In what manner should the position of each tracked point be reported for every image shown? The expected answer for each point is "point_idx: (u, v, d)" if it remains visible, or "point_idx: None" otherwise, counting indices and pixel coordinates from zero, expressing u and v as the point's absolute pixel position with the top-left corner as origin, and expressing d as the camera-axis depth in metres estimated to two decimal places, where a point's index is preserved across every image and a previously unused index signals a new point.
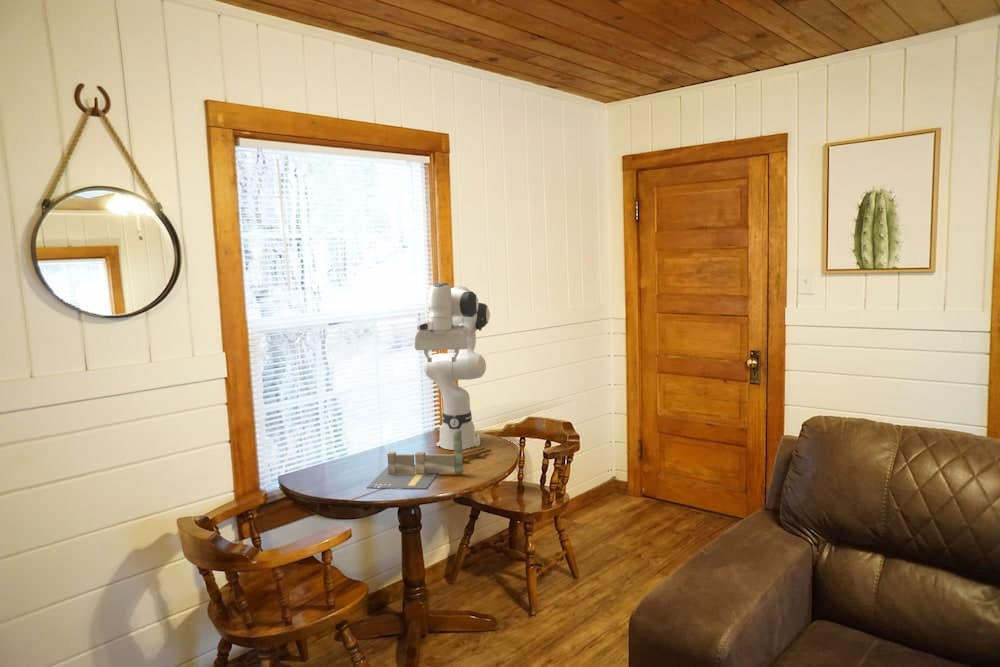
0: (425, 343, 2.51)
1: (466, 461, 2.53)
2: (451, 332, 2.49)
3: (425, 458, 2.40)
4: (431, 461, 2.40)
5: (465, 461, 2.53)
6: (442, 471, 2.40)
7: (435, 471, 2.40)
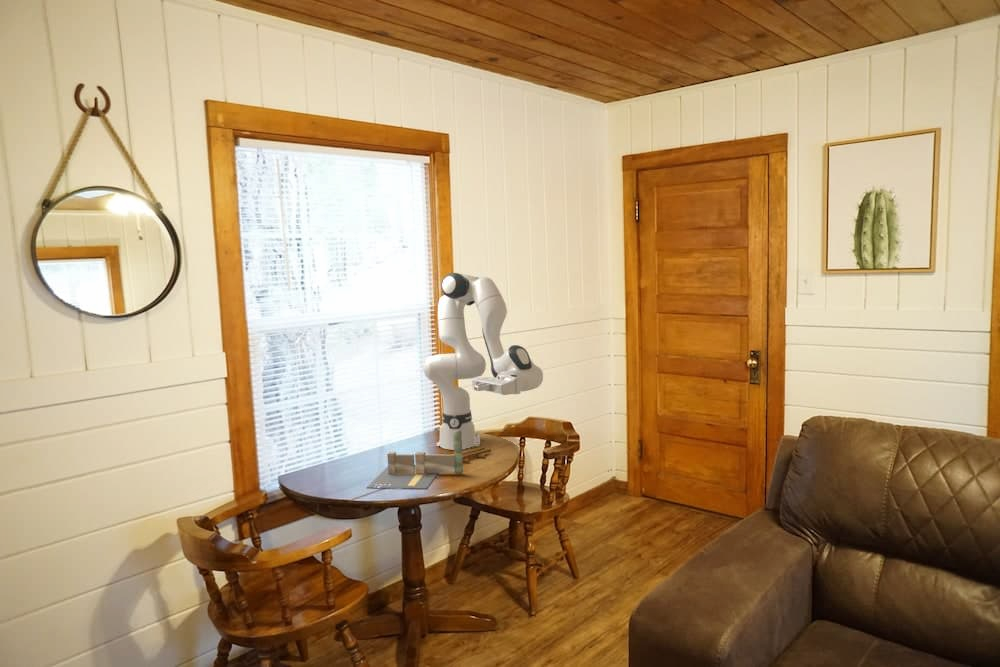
0: None
1: (466, 461, 2.53)
2: None
3: (425, 458, 2.40)
4: (431, 461, 2.40)
5: (465, 461, 2.53)
6: (442, 471, 2.40)
7: (435, 471, 2.40)
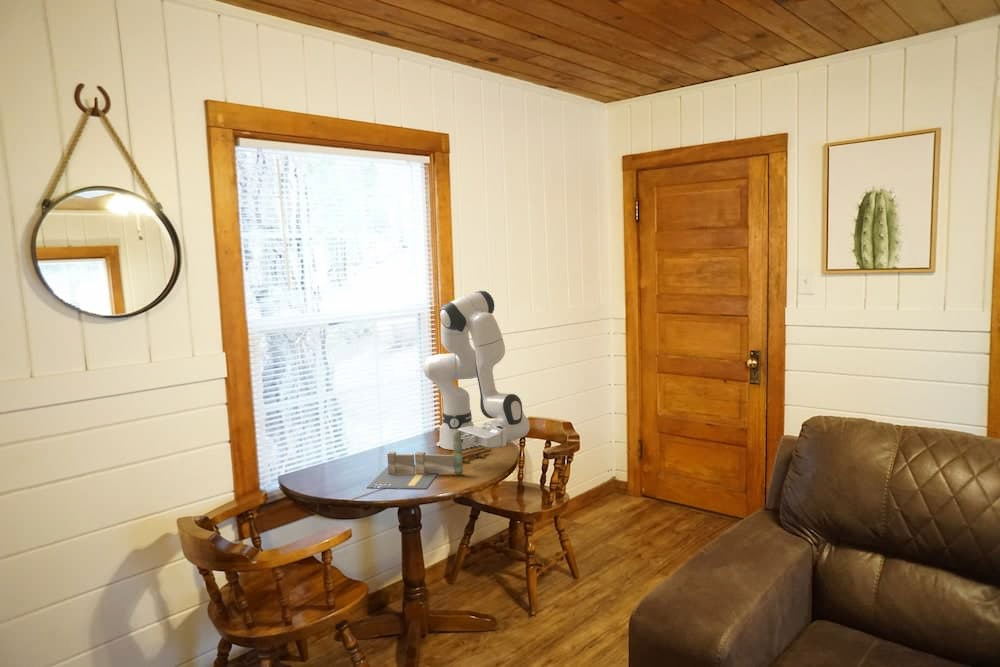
0: None
1: (466, 461, 2.53)
2: None
3: (425, 458, 2.40)
4: (430, 461, 2.40)
5: (465, 461, 2.53)
6: (442, 471, 2.40)
7: (434, 471, 2.40)
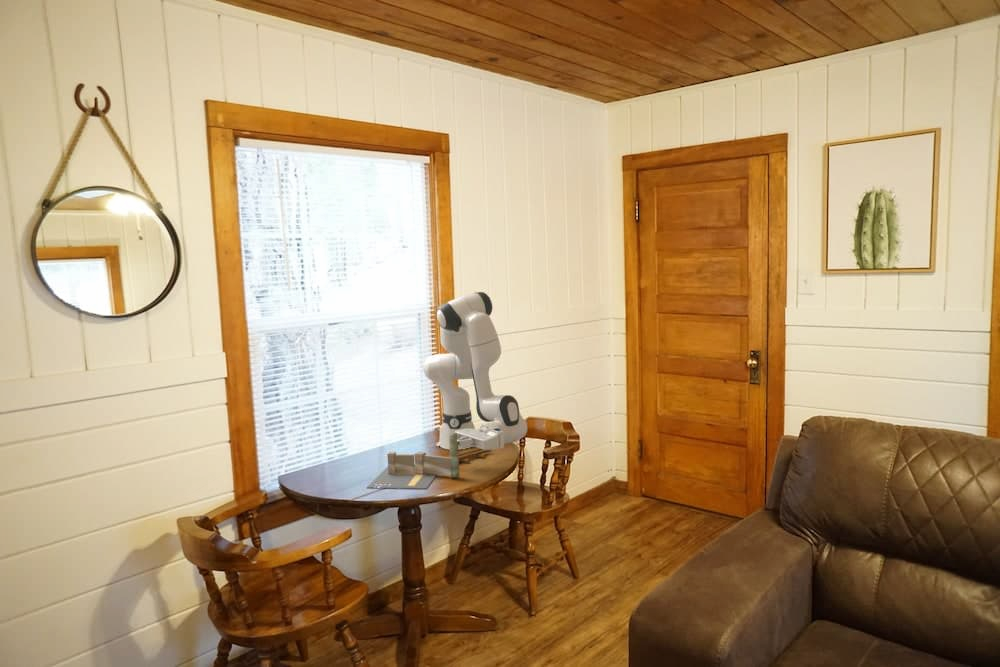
0: None
1: (466, 461, 2.53)
2: None
3: (424, 458, 2.40)
4: (429, 462, 2.39)
5: (465, 461, 2.53)
6: (439, 473, 2.38)
7: (433, 472, 2.39)
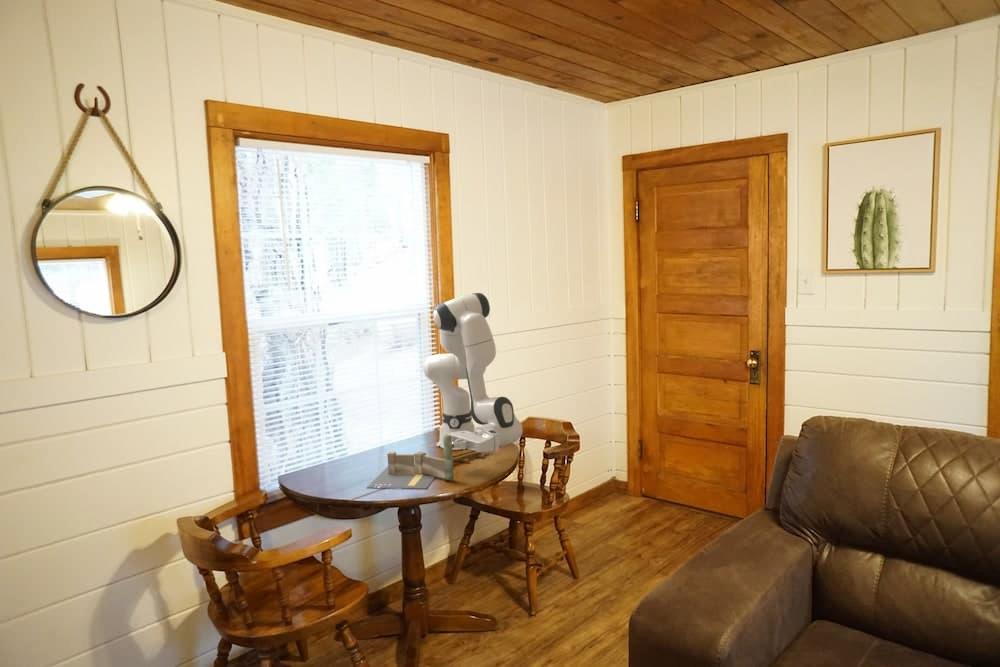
0: None
1: (466, 461, 2.53)
2: None
3: (423, 459, 2.39)
4: (427, 462, 2.38)
5: (465, 461, 2.53)
6: (435, 475, 2.36)
7: (430, 473, 2.38)
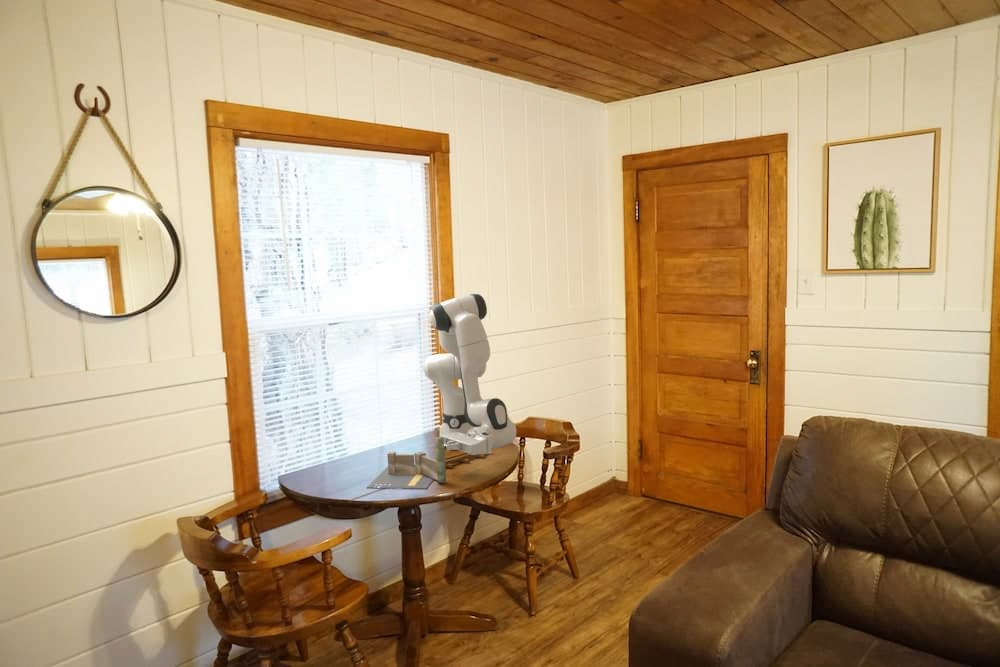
0: None
1: (466, 461, 2.53)
2: None
3: (421, 459, 2.39)
4: (424, 463, 2.38)
5: (465, 461, 2.53)
6: (431, 476, 2.35)
7: (427, 474, 2.37)
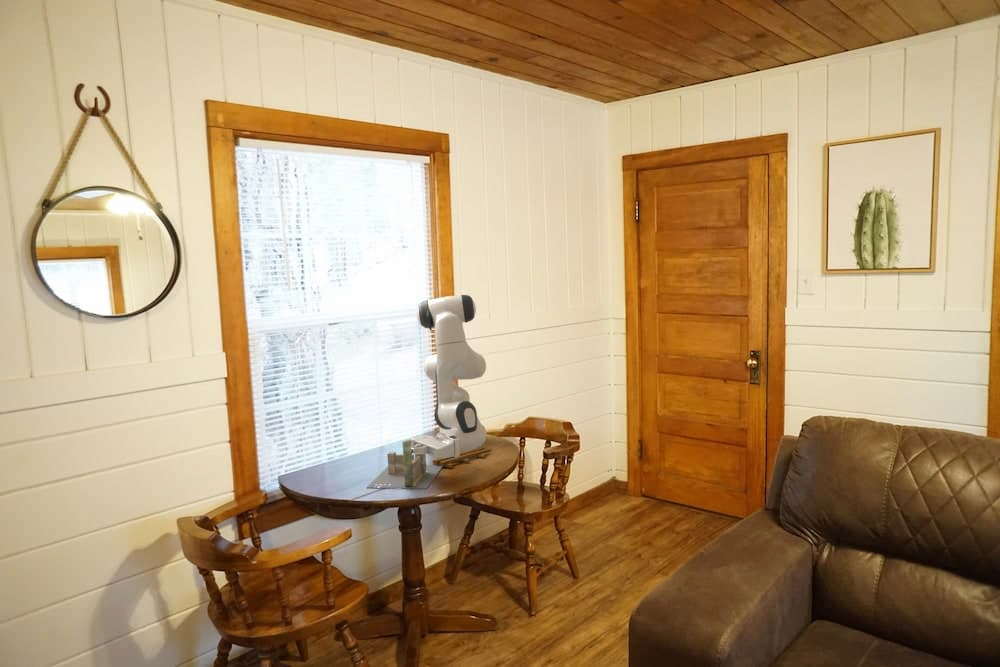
0: None
1: (466, 461, 2.53)
2: None
3: None
4: None
5: (465, 461, 2.53)
6: None
7: None
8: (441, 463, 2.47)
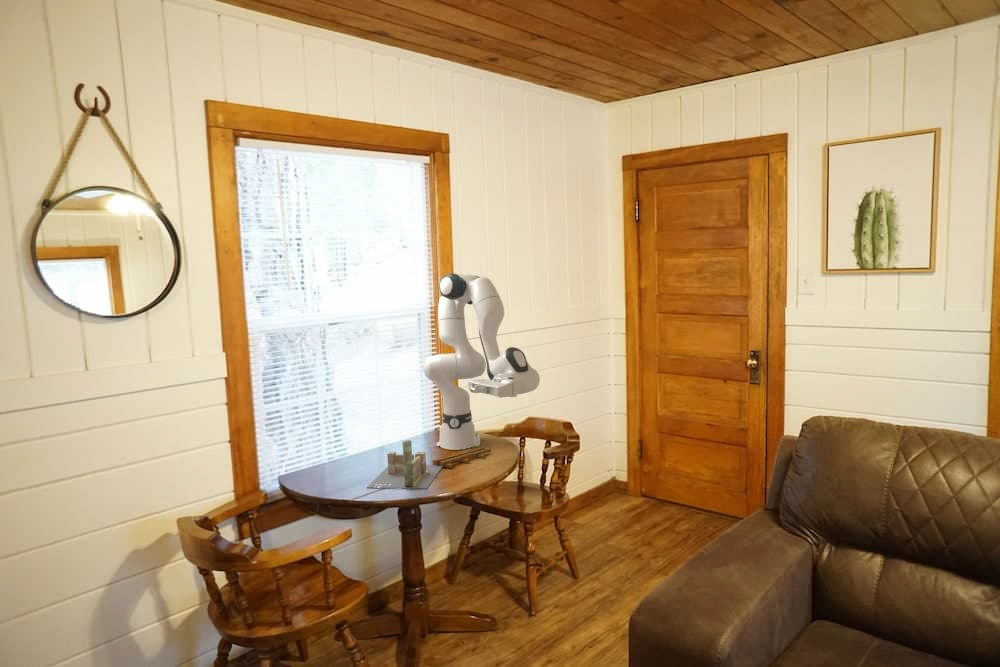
0: None
1: (466, 461, 2.53)
2: None
3: None
4: None
5: (465, 461, 2.53)
6: None
7: None
8: (441, 463, 2.47)
